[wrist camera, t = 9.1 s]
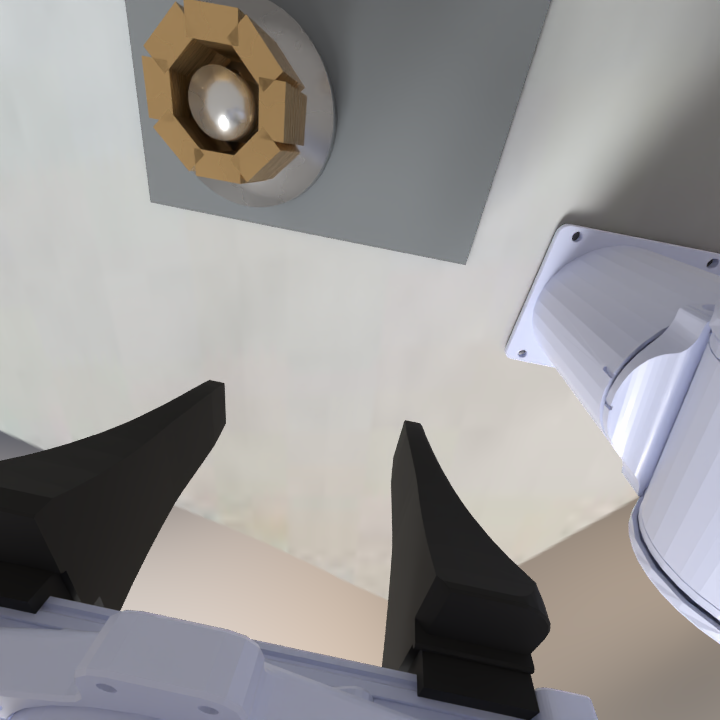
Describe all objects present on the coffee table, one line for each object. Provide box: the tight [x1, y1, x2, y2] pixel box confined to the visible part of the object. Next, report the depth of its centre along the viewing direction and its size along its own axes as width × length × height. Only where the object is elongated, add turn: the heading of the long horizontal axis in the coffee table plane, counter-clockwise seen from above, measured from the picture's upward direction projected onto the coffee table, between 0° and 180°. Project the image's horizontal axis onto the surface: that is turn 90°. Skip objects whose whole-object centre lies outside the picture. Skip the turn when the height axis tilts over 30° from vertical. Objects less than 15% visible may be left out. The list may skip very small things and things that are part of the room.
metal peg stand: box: [188, 0, 337, 207], centre depth 15 cm, size 8×8×4 cm
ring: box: [142, 0, 307, 184], centre depth 15 cm, size 5×5×3 cm
